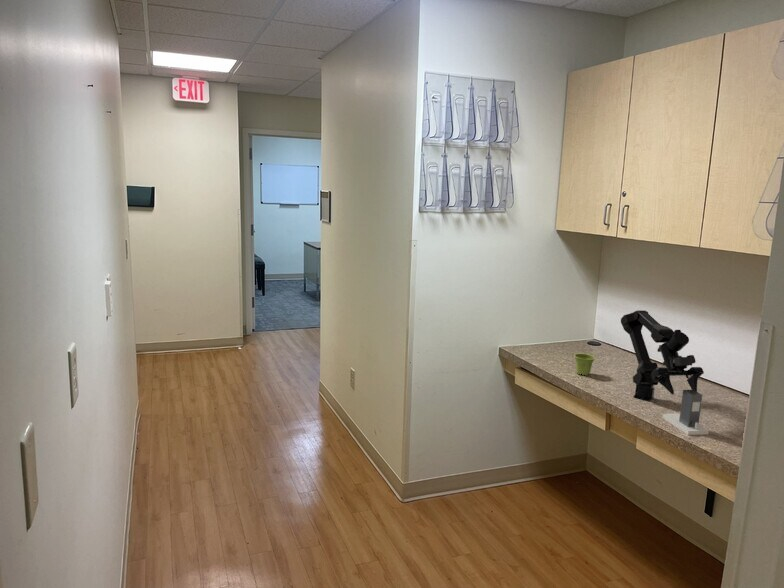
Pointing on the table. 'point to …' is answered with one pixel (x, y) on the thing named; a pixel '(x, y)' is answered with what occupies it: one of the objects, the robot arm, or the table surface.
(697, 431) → the dock
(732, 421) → the table surface
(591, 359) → the plant pot
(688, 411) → the block
